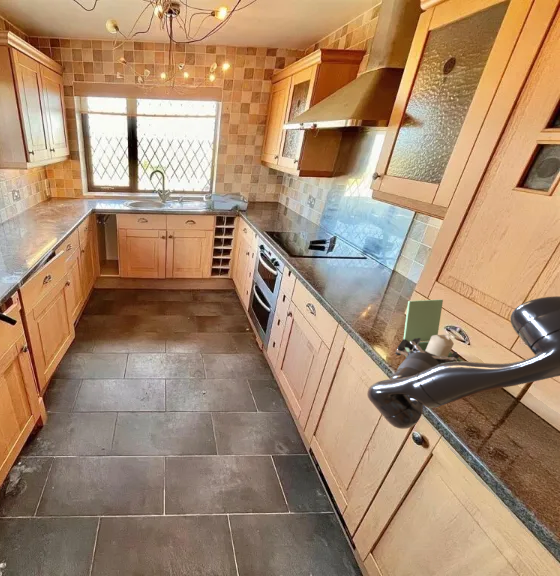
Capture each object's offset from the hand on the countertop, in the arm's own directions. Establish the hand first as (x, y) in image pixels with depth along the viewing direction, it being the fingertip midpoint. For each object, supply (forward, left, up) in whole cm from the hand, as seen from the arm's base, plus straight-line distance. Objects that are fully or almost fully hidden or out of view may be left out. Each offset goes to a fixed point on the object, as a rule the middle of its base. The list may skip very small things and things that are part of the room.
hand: (436, 347), depth 89 cm
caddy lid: (0, -15, 0) cm, 15 cm away
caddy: (-4, -8, -11) cm, 14 cm away
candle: (-4, -8, -10) cm, 13 cm away
